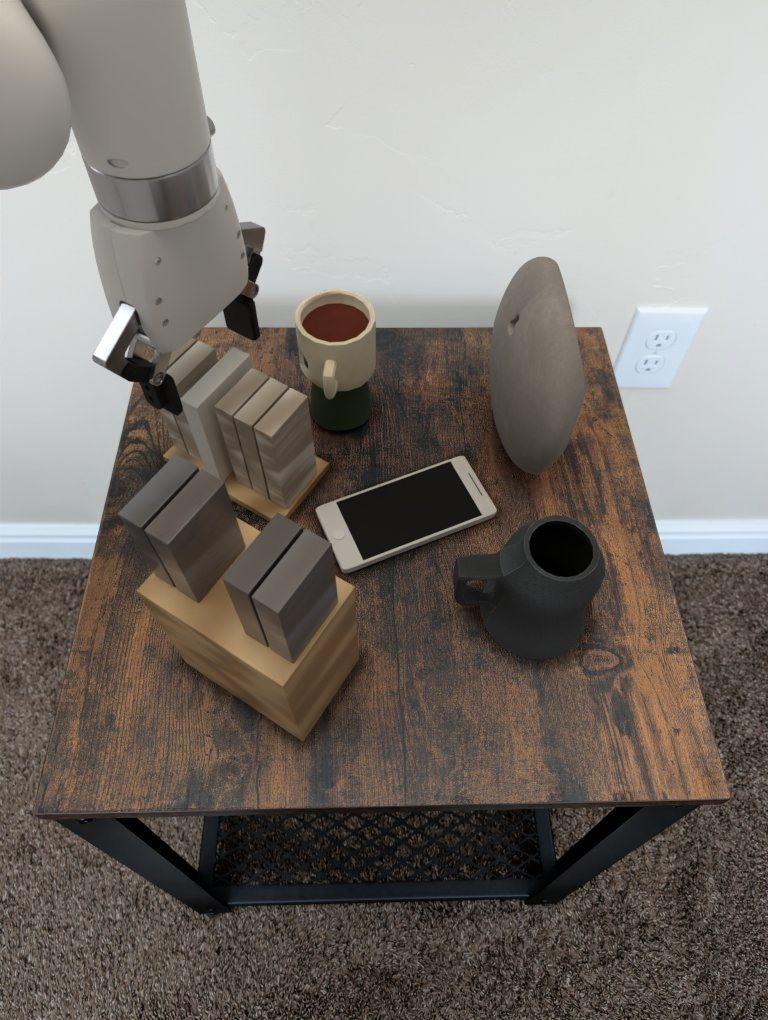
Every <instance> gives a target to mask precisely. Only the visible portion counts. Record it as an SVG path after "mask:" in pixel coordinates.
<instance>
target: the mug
mask: <svg viewBox="0 0 768 1020" xmlns="http://www.w3.org/2000/svg"><path fill="white" fill-rule="evenodd" d="M605 560H606V559H605V557H604V555H603V551H602V549H601V547H600V545H599V542H598V540H597V537H596V535H595V534H594V533H593V531H592V530H591V529H590V528H589V527H588V526H587V525H586V524H585V523H583V522H582V521H580V520H578V519H577V518H573V517H571V516H568V515H561V514H553V515H546V516H543V517H541V518H539V519H534V520H531V521H529V522H527V523H525V524H523V525H521V526H520V527H519V528H518V529H517V530H516V531H515V532H514V533H513V534H512V535H511V536H510V538H509V539H508V540H507V541H506V542H505V544H504V545H503V546H502V547H501V548H500V549H499V550H498V551H497V552H495V553H476V554H475V553H474V554H468V555H461V556H459V557H456V558H455V561H454V565H453V572H452V585H453V599H454V601H455V603H457V604H458V605H460V607H464V608H469V607H476V606H480V607H479V608H480V609H479V611H480V615H481V618H482V621H483V625H484V627H485V628H486V630H487V631H488V633H489V635H490V636H491V638H492V639H493V640H494V641H495V642H496V643H497V644H499V645H500V646H501V647H502V648H503V649H504V650H506V651H508V652H510V653H512V654H513V655H516V656H519V657H521V658H524V659H525V658H526V659H532V660H533V659H534V660H540V661H541V660H546V659H551V658H556V657H559V656H560V655H562V654H563V653H566V652H568V651H570V650H571V649H572V648H573V647H574V645H575V644H576V643H577V642H578V641H579V639H581V636H582V633H583V630H584V628H585V624H586V619H587V618H586V617H587V607H588V606H589V604H591V602H592V601H593V599H594V598H595V596H596V595H597V593H598V592H599V590H600V589H601V587H602V584H603V582H604V578H605V575H606V561H605ZM471 581H486V583H485V586H484V588H483V590H482V591H481V590H479V589H478V588H477V587H474V586H472V585H468V582H471Z"/></svg>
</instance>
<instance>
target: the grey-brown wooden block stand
mask: <svg viewBox="0 0 768 1020" xmlns="http://www.w3.org/2000/svg"><path fill="white" fill-rule="evenodd" d="M152 359H153V357H152V358H150V359H149V360H148V361H150V362H151V363H152ZM218 361H219V359H218V355H217V352H216V349H215V348H214V347H212V346H210V345H209V344H207V343H205V342H202V341H201V340H197V338H194V336H193V337H192V338H191V339H190V340H189V341H188V342H186V343H185V344H184V345H183V346H181V347H180V348H178V349H176V350H174V351H172V354H171V357H170V361H169V364H168V368H167V372H166V373H167V374H169V375H171V376H172V377H173V379H174V381H175V384H176V387H177V390H178V393H179V397H180V399H181V398H182V397H183V396H184V395H185V394H186V393H187V392H188V391H189V390H190V389H191V388H192V387H193V386H194V385H195V384H196V383H197V382H198V381H199V380H200V379H201V378H202V377H203V376H204V375H205V374H206V373H207V372H208V371H209V370H210V369H211V368H212V367H213V366H214V365H215V364H216V363H217V362H218ZM214 407H215V411H216V414H217V417H218V420H219V424H220V427H221V430H222V434H223V437H224V440H225V443H226V447H227V450H228V453H229V457H230V460H231V463H232V466H233V470H234V471H233V472H232V473H231V474H230V475H229V476H228V477H227V478H226V480H225V481H224V482H225V485H226V488H227V491H228V494H229V497H230V500H231V501H232V502H234V503H236V504H238V505H239V506H241V507H242V508H245V509H246V510H248V511H250V512H251V513H253V514H255V515H257V516H258V517H260V518H262V519H263V520H265V521H267V522H268V523H269V522H270V520H271V519H272V518H273V517H274V516H275V514H276V513H277V512H278V513H280V514H282V515H283V516H285V517H287V518H288V519H290V517H292V515H293V514H294V513H295V511H296V510H297V509H298V508H299V506H300V505H301V504H303V502H304V500H305V499H306V498H307V497H308V495H309V494H311V492H312V491H313V490H314V488H316V486H317V484H318V483H319V482H320V481H321V480H322V478H323V477H324V476H325V475H326V474H327V472H328V471H329V470H330V462H328V461H326V460H324V459H322V458H321V457H319V456H317V455H316V452H315V441H314V435H313V427H312V419H311V412H310V402H309V396H308V395H306V394H304V393H302V392H300V391H298V390H296V389H294V388H292V387H290V388H289V385H287V384H285V383H283V382H281V381H279V380H277V379H275V378H273V377H270V376H269V375H267V374H265V373H264V372H261V371H259V370H257V369H256V368H251V369H250V370H249V371H248V372H247V373H246V374H245V375H244V376H243V377H242V378H241V380H240V381H239V382H238V383H237V384H236V385H235V386H234V387H233V388H232V389H231V390H230V391H229V392H228V393H227V394H226V395H225V396H224V397H223V398H222V399H221V400H220V401H219V402H218V403H217V404H216V405H215V406H214ZM159 412H160V415H161V418H162V420H163V423H164V425H165V427H166V429H167V433H168V435H169V436H170V437H169V438H170V439H171V442H172V446H171V447H170V448H169V449H168V450H167V451H166V452H165V453H164V454H163V456H162V457H163V459H164V461H165V463H167V462H168V461H169V460H170V459H171V458H172V457H173V456H174V455H175V454H176V455H178V456H180V457H182V458H183V459H185V460H187V461H189V462H190V463H192V464H194V465H196V466H197V467H198V468H199V471H200V470H201V469H203V470H204V471H206V470H205V467H204V464H203V462H202V459H201V456H200V453H199V451H198V448H197V445H196V442H195V440H194V437H193V434H192V431H191V429H190V426H189V423H188V420H187V418H186V415H185V412H184V409H183V412H181V413H180V414H179V415H178V416H176V415H174V414H173V413H171V412H169V411H167V410H165V409H164V408H162V409H161V410H159Z"/></svg>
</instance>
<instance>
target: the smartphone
mask: <svg viewBox="0 0 768 1020" xmlns="http://www.w3.org/2000/svg"><path fill="white" fill-rule="evenodd" d="M497 511H498V509H497V508H496V505H495V504H494V502H493V501H492V499H491V497H490V495H489V494H488V493H487V491H486V490H485V487H484V486H483V484H482V483H481V481H480V479H479V478H478V476H477V474H476V472H475V471H474V469H473V468H472V466H471V465H470V463H469V461H468V460H467V458H466V456H464V455H457V456H455V457H452V458H449V459H446V460H444V461H441V462H438V463H435V464H433V465H430V466H427V467H425V468H422V469H419V470H416V471H413V472H410V473H408V474H405V475H402V476H399V477H396V478H393V479H391V480H388V481H385V482H383V483H380V484H376V485H374V486H370V487H369V488H366V489H362V490H361V491H360V490H359V491H357V492H355V493H352V494H349V495H345V496H343V497H341V498H337V499H335V500H332V501H329V502H327V503H324V504H321V505H319V506H318V507H316V508H315V514H316V517H317V519H318V521H319V523H320V526H321V528H322V531H323V533H324V536H325V537H326V540H327V541H329V542H330V543H332V550H333V556H334V557H335V559H336V562H337V564H338V566H339V568H340V570H341V573H343V574H351V573H353V572H355V571H358V570H360V569H363V568H366V567H368V566H371V565H373V564H376V563H379V562H381V561H384V560H386V559H389V558H392V557H394V556H397V555H400V554H402V553H405V552H407V551H410V550H412V549H415V548H417V547H420V546H423V545H426V544H428V543H432V542H433V541H436V540H438V539H442V538H444V537H447V536H449V535H451V534H454V533H456V532H459V531H463V530H465V529H468V528H470V527H473V526H476V525H478V524H480V523H483V522H486V521H489V520H490V519H493V518H494V517H496V515H497Z"/></svg>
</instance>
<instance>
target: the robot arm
mask: <svg viewBox="0 0 768 1020" xmlns="http://www.w3.org/2000/svg"><path fill="white" fill-rule="evenodd" d="M192 35H193V34H192V30H191V24H190V20H189V13H188V7H187V3H186V0H0V191H6V190H11V189H16V188H21V187H24V186H27V185H30V184H32V183H33V182H36V181H38V180H40V179H41V178H43V177H44V176H45V175H47V174H48V173H49V172H50V171H51V170H52V169H53V168H54V167H55V166H56V165H57V164H58V162H59V161H60V159H61V158H62V157H63V156H64V154H65V151H66V149H67V146H68V144H69V142H70V137H71V131H72V132H73V135H74V137H75V142H76V144H77V146H78V150H79V152H80V155H81V158H82V162H83V164H84V167H85V169H86V173H87V175H88V178H89V181H90V184H91V187H92V189H93V192H94V195H95V198H96V201H97V202H96V204H95V205H93V207H92V208H91V209H90V210H89V224H90V234H91V241H92V247H93V253H94V257H95V258H94V259H95V264H96V267H97V271H98V274H99V278H100V282H101V285H102V290H103V292H104V293H103V294H104V297H105V299H106V302H107V305H108V308H109V312H110V314H111V317H112V320H111V321H110V323H109V325H108V327H107V328H106V330H105V332H104V333H103V336H102V337H101V339H100V341H99V342H98V344H97V346H96V348H95V350H94V351H93V353H92V357H91V359H92V361H93V363H96V364H97V365H99V366H100V367H102V368H104V369H106V370H108V371H110V372H111V373H113V374H115V375H117V376H118V377H120V378H122V379H123V380H126V381H127V382H130V383H138V384H139V386H140V388H141V391H142V393H143V396H144V399H145V401H146V402H147V403H148V404H149V405H151V407H153V408H155V409H157V410H159V411H160V410H161V409H162V408H164V409H165V410H167V411H169V412H171V413H173V414H174V415H176V416H178V415H179V414H180V413H181V412H183V406H182V403H181V400H180V397H179V393H178V390H177V387H176V384H175V381H174V379H173V377H172V376H171V375H169V374H167V373H166V372H167V368H168V364H169V361H170V357H171V354H172V351H174V350H176V349H178V348H180V347H181V346H183V345H184V344H185V343H186V342H188V341H189V340H190V339H191V338H192V337H193V338H194V336H196V335H197V334H199V332H200V331H201V330H202V329H204V328H205V327H206V326H207V325H209V323H210V322H211V321H212V320H214V319H215V318H216V317H217V316H218V315H219V314H220V313H221V312H223V317H224V322H225V326H226V328H227V329H229V330H231V331H232V332H234V333H236V334H238V335H240V336H242V337H244V338H246V339H248V340H250V341H257V340H258V339H259V338H260V337H261V331H260V325H259V319H258V312H257V306H256V301H255V300H254V299H256V297H257V296H258V295H259V291H260V286H259V284H258V283H257V280H258V278H259V274H260V271H261V269H262V266H263V262H264V258H263V255H261V253H262V252H263V249H264V245H265V244H264V243H265V239H266V233H267V232H266V228H265V227H264V226H262V225H260V224H257V223H256V222H253V221H241V222H240V220H239V217H238V213H237V210H236V207H235V204H234V201H233V198H232V194H231V192H230V190H229V186H228V184H227V182H226V180H225V178H224V175H223V173H222V171H221V170H220V168H219V167H218V166H217V164H216V158H215V153H214V148H213V143H212V137H213V136H214V135H216V131H217V130H216V125H215V123H214V121H213V120H212V119H211V117H210V116H208V115H207V109H206V105H205V99H204V94H203V88H202V83H201V79H200V73H199V68H198V61H197V56H196V51H195V47H194V40H193V36H192ZM148 346H149V347H150V348H152V349H154V352H153V355H152V358H153V359H152V358H151V359H152V363H151V362H150V361H149V360H148V359H145V355H146V352H147V348H148ZM126 353H127V354H126Z"/></svg>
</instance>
